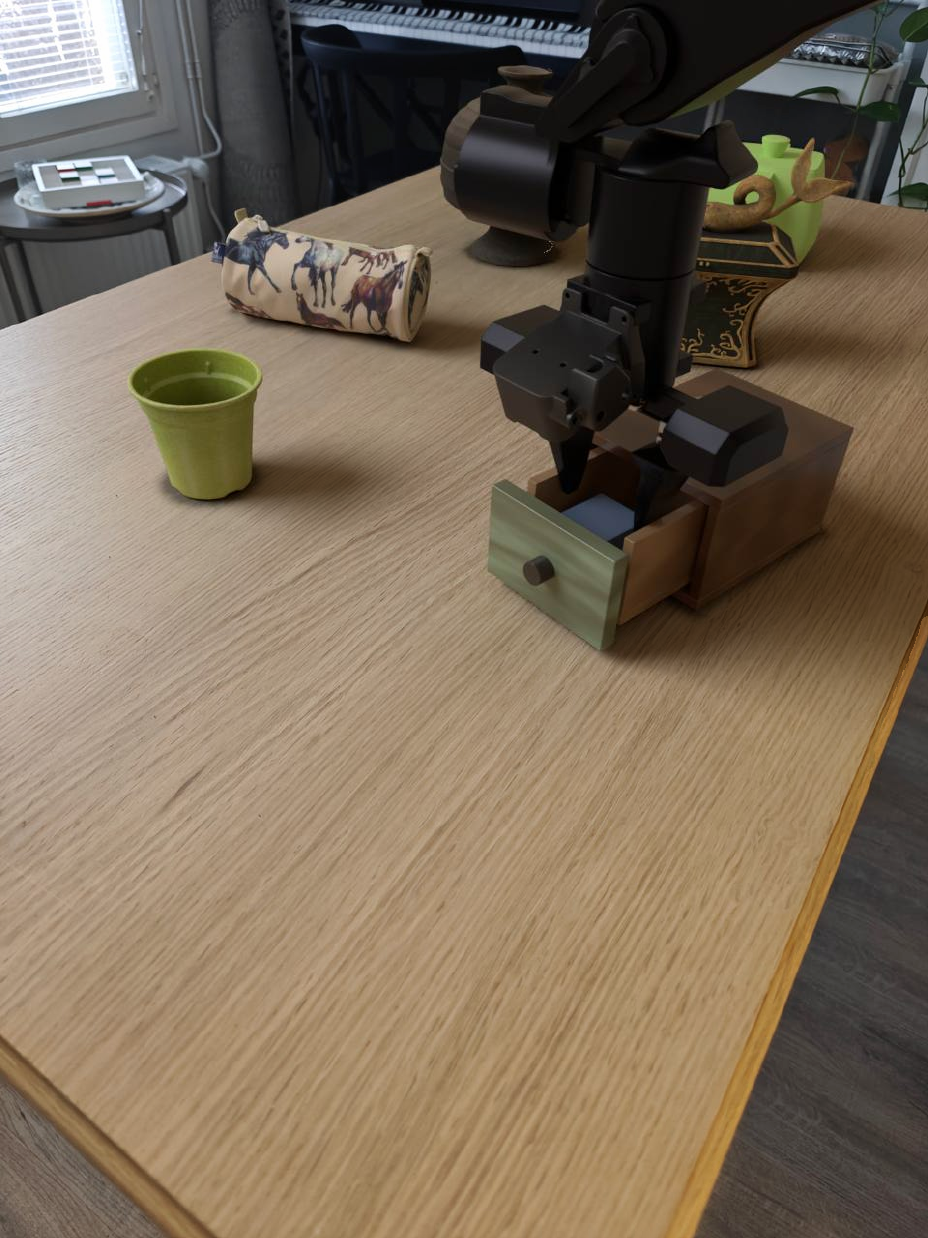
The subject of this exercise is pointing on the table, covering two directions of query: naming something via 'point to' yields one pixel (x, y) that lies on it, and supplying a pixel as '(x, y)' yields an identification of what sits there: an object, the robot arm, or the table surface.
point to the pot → (496, 241)
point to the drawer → (590, 548)
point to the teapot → (783, 190)
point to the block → (604, 519)
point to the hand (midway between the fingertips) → (604, 511)
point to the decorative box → (745, 264)
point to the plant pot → (201, 416)
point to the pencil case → (324, 280)
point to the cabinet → (749, 489)
